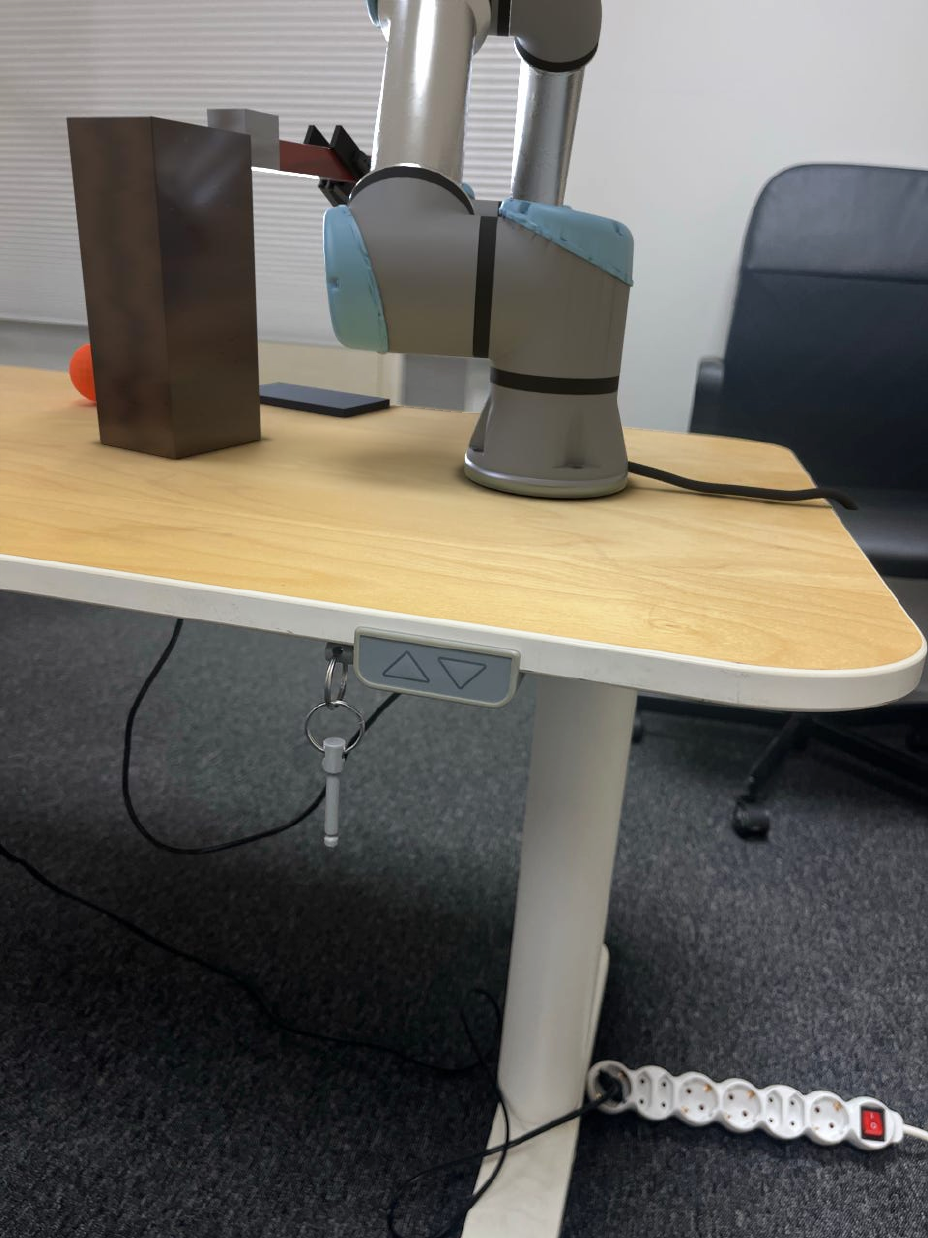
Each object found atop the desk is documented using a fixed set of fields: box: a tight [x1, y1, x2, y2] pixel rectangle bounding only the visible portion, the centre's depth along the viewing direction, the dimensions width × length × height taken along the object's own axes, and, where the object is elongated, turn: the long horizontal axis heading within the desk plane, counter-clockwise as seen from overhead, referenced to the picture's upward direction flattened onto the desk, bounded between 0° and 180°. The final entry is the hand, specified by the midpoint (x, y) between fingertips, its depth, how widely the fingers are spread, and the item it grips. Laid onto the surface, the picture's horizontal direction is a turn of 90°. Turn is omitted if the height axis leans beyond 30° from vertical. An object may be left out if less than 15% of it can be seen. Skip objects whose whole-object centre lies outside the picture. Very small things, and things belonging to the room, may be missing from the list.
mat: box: [259, 381, 391, 418], centre depth 114 cm, size 18×10×1 cm, turn 61°
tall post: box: [65, 115, 262, 460], centre depth 84 cm, size 10×12×28 cm
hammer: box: [206, 107, 372, 184], centre depth 97 cm, size 5×24×5 cm, turn 151°
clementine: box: [68, 342, 96, 403], centre depth 104 cm, size 8×7×7 cm
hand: (321, 136), depth 99 cm, fingers closed on hammer, 3 cm apart
